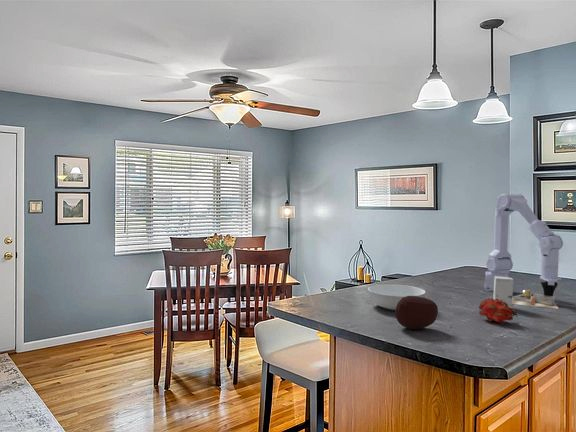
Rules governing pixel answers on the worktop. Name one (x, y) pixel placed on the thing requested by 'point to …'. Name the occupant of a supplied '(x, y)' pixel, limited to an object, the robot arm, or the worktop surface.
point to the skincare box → (503, 289)
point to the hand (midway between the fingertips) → (548, 300)
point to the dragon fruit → (496, 310)
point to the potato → (416, 312)
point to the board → (533, 305)
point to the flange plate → (537, 299)
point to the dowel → (532, 300)
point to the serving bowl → (392, 294)
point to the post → (526, 294)
